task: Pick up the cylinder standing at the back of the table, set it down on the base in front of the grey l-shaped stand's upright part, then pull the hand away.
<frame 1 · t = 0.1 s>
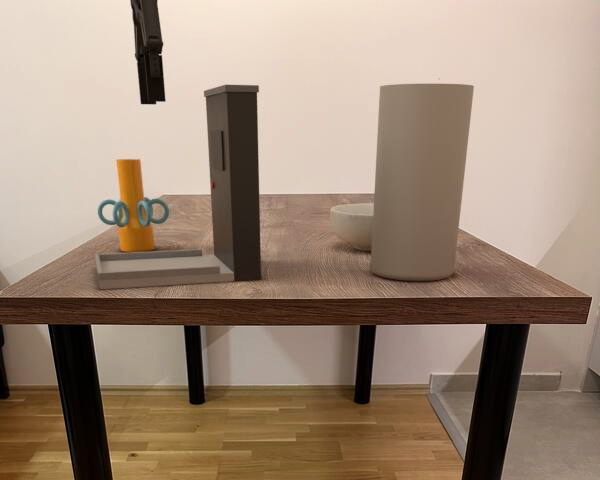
hand: (152, 103, 109), 24 cm above the table, tool pointing down, fingers open, 13 cm apart
cereal bowl: (374, 249, 118), on the table
cylinder vase: (411, 274, 97), on the table
cylinder: (138, 251, 115), on the table
grey l-shaped stand: (157, 274, 95), on the table
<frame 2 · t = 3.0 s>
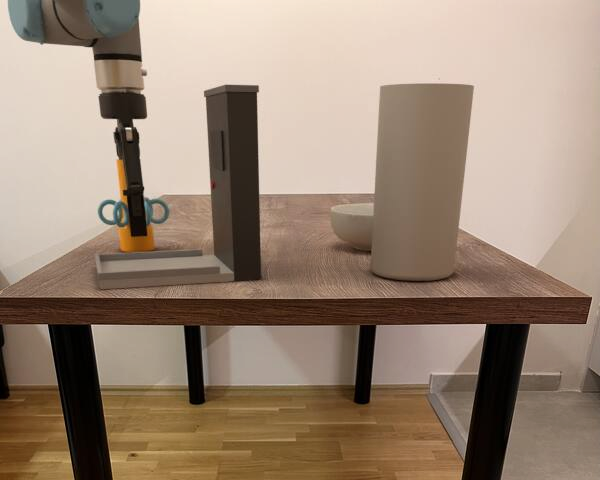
hand: (136, 231, 113), 3 cm above the table, tool pointing down, fingers closed on cylinder, 11 cm apart
cylinder: (138, 251, 115), on the table, touching gripper
everything else where it was.
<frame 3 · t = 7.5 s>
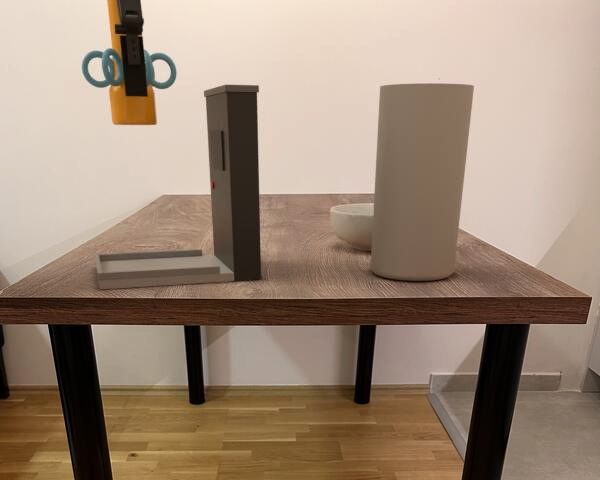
hand: (132, 98, 86), 23 cm above the table, tool pointing down, fingers closed on cylinder, 11 cm apart
cylinder: (135, 126, 87), point 20 cm above the table, touching gripper
everything else where it was.
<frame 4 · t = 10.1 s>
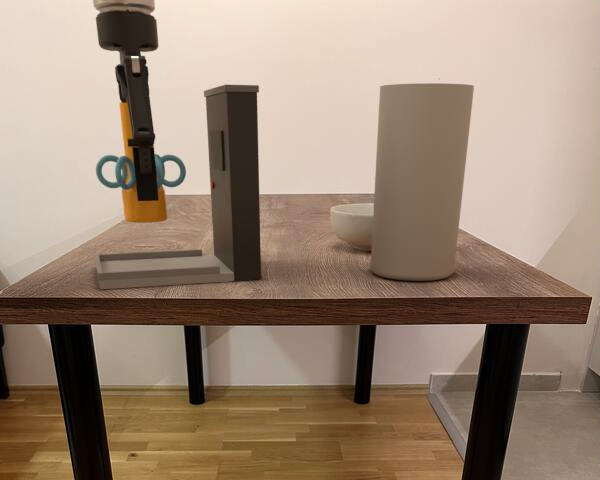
hand: (144, 196, 90), 11 cm above the table, tool pointing down, fingers closed on cylinder, 11 cm apart
cylinder: (146, 222, 92), point 8 cm above the table, touching gripper
everything else where it was.
when the fingers open (4 cm above the table, at t = 12.2 s): cylinder stays where it is, resting on grey l-shaped stand.
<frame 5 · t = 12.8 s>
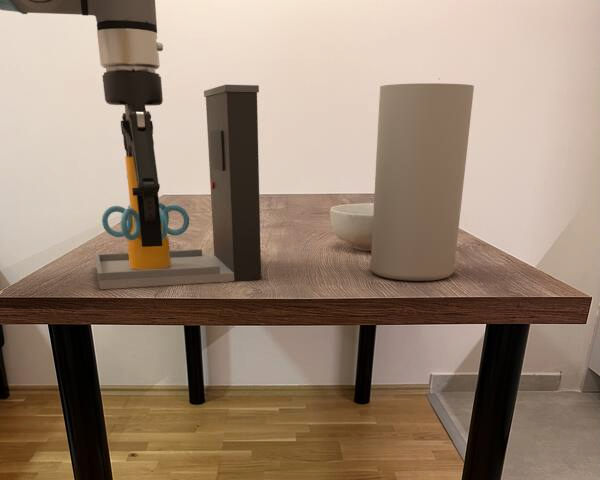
hand: (147, 239, 93), 5 cm above the table, tool pointing down, fingers open, 13 cm apart
cylinder: (151, 268, 94), point 1 cm above the table, touching grey l-shaped stand
everything else where it was.
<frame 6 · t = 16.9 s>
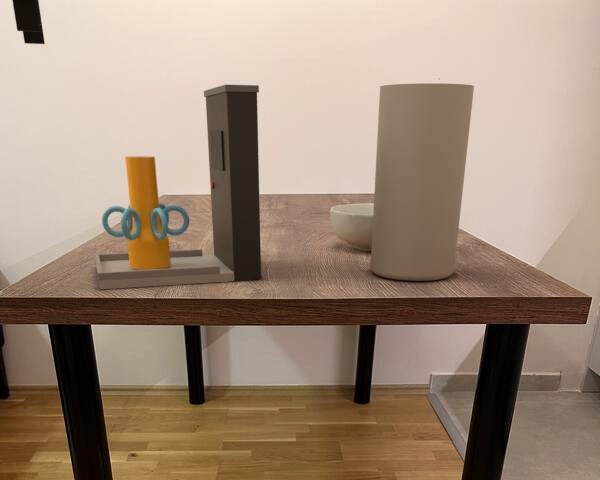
hand: (32, 38, 86), 31 cm above the table, tool pointing down, fingers open, 13 cm apart
nothing on the table moved.
at the end: cylinder 0.4 cm off-centre on the grey l-shaped stand, point 1.0 cm above the grey l-shaped stand's base; cylinder tilted 0°; the gripper is holding nothing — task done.
